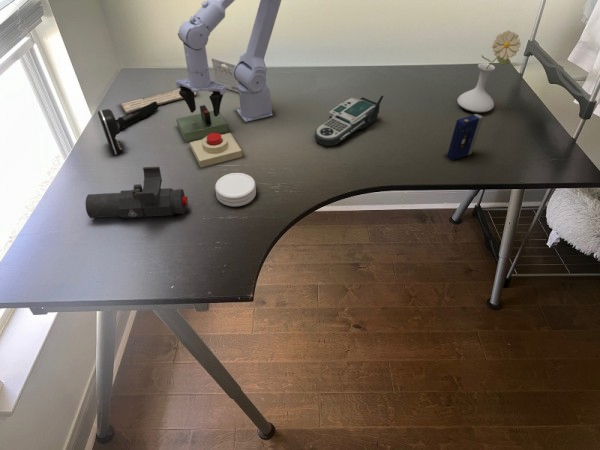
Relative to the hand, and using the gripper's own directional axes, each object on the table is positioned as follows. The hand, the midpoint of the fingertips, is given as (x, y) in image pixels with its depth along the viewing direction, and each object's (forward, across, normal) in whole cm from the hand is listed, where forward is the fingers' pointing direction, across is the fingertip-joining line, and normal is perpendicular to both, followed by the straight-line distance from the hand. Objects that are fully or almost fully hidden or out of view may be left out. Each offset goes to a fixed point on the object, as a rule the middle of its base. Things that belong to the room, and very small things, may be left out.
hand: (205, 112), depth 132 cm
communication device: (+6, +40, +12) cm, 42 cm away
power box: (+5, +8, -11) cm, 15 cm away
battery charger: (+6, -20, -17) cm, 27 cm away
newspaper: (+6, -23, +11) cm, 26 cm away
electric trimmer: (+6, -24, -1) cm, 24 cm away
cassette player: (+6, +74, +8) cm, 75 cm away
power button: (+2, +8, -11) cm, 14 cm away
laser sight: (+6, +1, -40) cm, 40 cm away
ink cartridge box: (+6, -4, +26) cm, 27 cm away
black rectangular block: (+2, 0, 0) cm, 2 cm away
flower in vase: (+6, +79, +37) cm, 87 cm away
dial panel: (+5, -1, -1) cm, 6 cm away
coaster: (+6, +20, -27) cm, 34 cm away
